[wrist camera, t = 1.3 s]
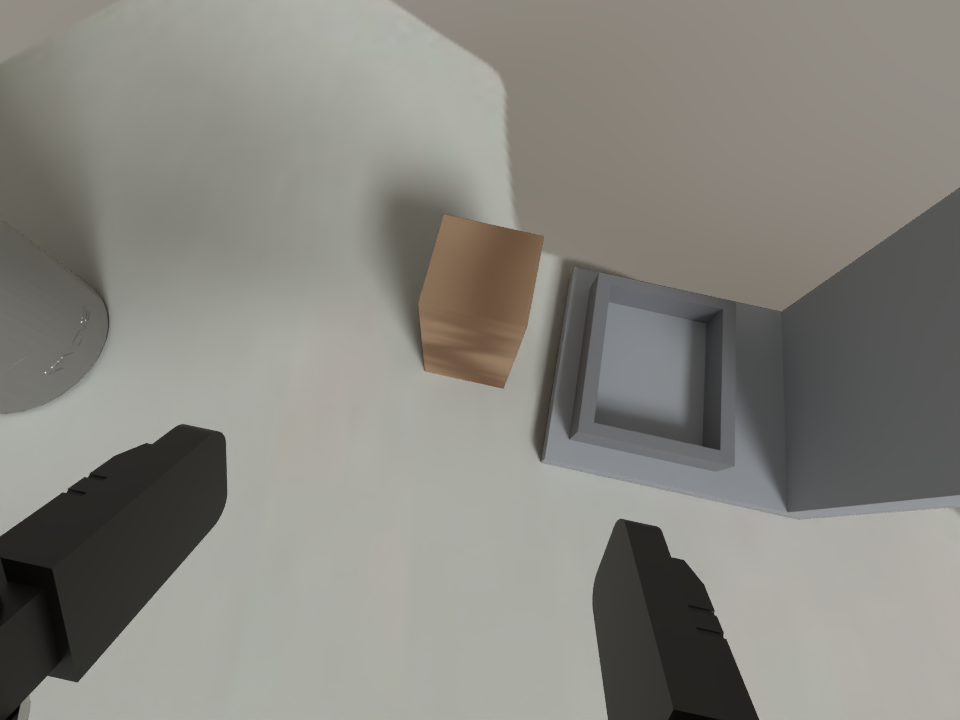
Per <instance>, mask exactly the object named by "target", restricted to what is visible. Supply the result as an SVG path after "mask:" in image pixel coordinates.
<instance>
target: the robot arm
mask: <svg viewBox="0 0 960 720" xmlns="http://www.w3.org/2000/svg"><path fill="white" fill-rule="evenodd" d="M107 330H108V318H107V311H106V308H105V305H104V303H103V300H102V299H101V297H100V296H99V295H98V293H97V292H96V291H95V289H93V288H92V287H91V286H89V285H88V284H87V283H86V282H84V281H83V280H82V279H80V278H79V277H78V276H76V275H75V274H74V273H72V272H71V271H70V270H68V269H67V268H66V267H64V266H63V265H62V264H60V263H59V262H58V261H56V260H55V259H54V258H52V257H51V256H50V255H48V254H47V253H46V252H45V251H43V250H42V249H41V248H40V247H38V246H37V245H36V244H34V243H33V242H32V241H30V240H29V239H28V238H26V237H25V236H24V235H22V234H21V233H19V232H18V231H17V230H15V229H14V228H13V227H11V226H10V225H9V224H7V223H6V222H5V221H3V220H2V219H1V218H0V414H8V413H15V412H21V411H26V410H28V409H31V408H34V407H37V406H40V405H43V404H45V403H47V402H49V401H51V400H53V399H55V398H56V397H58V396H60V395H62V394H63V393H64V392H66V391H67V390H69V389H70V388H71V387H73V386H74V385H75V384H77V383H78V382H79V380H80V379H81V378H82V377H83V376H84V375H85V374H86V373H87V372H88V371H89V370H90V369H91V367H92V366H93V364H94V363H95V361H96V360H97V358H98V357H99V355H100V353H101V350H102V348H103V346H104V343H105V341H106V336H107ZM226 499H227V467H226V440H225V437H224V435H223V434H222V433H221V432H218V431H213V430H209V429H204V428H199V427H195V426H190V425H185V424H182V425H178V426H176V427H175V428H173V429H172V430H171V431H169V432H168V433H167V434H165V435H164V436H163V437H161V438H160V439H159V440H157V441H156V442H155V443H153V444H148V443H145V444H143V445H140V446H138V447H136V448H133V449H131V450H128V451H126V452H123V453H121V454H118V455H116V456H114V457H112V458H111V459H110V460H108V461H107V462H105V463H104V464H103V465H101V466H100V467H98V468H97V469H95V470H94V471H93V472H91V473H90V475H89V477H88V478H86V477H84V478H83V479H81V480H80V481H78V482H77V483H76V484H74V485H73V486H71V487H70V488H68V491H67V493H61V494H60V495H59V496H57V497H56V498H54V499H53V500H51V501H50V502H49V503H47V504H46V505H44V506H43V507H41V508H40V509H39V510H37V511H36V512H34V513H33V514H32V515H30V516H29V517H27V518H26V519H24V520H23V521H22V522H20V523H19V524H17V525H16V526H14V527H13V528H12V529H10V530H9V531H7V532H6V533H5V534H3V535H2V536H0V720H28V718H29V713H30V705H31V701H30V696H29V694H30V693H31V692H32V691H33V690H34V689H35V688H36V687H37V686H38V685H39V684H40V683H41V682H42V681H43V680H44V679H45V678H46V676H51V677H56V678H60V679H65V680H69V681H73V682H78V681H79V680H80V679H81V678H82V677H83V676H84V674H85V673H86V672H87V671H88V670H89V669H90V668H91V666H92V665H93V664H94V663H95V662H96V661H97V660H98V658H99V657H100V656H101V655H102V654H103V653H104V652H105V650H106V649H107V648H108V647H109V646H110V645H111V644H112V642H113V641H114V640H115V639H116V638H117V637H118V635H119V634H120V633H121V632H122V631H123V630H124V629H125V627H126V626H127V625H128V624H129V623H130V622H131V621H132V619H133V618H134V617H135V616H136V615H137V614H138V613H139V611H140V610H141V609H142V608H143V607H144V606H145V605H146V603H147V602H148V601H149V600H150V599H151V598H152V597H153V595H154V594H155V593H156V592H157V591H158V590H159V589H160V587H161V586H162V585H163V584H164V583H165V582H166V580H167V579H168V578H169V577H170V576H171V575H172V574H173V572H174V571H175V570H176V569H177V568H178V567H179V566H180V564H181V563H182V562H183V561H184V560H185V559H186V558H187V556H188V555H189V554H190V553H191V552H192V551H193V550H194V548H195V547H196V546H197V545H198V544H199V543H200V542H201V540H202V539H203V538H204V537H205V536H206V535H207V534H208V532H209V531H210V530H211V529H212V528H213V527H214V525H215V524H216V523H217V521H218V520H219V518H220V516H221V514H222V512H223V509H224V507H225V504H226ZM593 614H594V621H595V628H596V636H597V643H598V650H599V657H600V665H601V672H602V679H603V686H604V694H605V701H606V708H607V715H608V720H759V718H758V716H757V713H756V711H755V708H754V706H753V704H752V701H751V699H750V696H749V694H748V691H747V689H746V686H745V684H744V682H743V679H742V677H741V674H740V672H739V669H738V667H737V664H736V662H735V660H734V657H733V655H732V652H731V650H730V647H729V645H728V642H727V640H726V639H724V638H723V634H724V633H723V630H722V628H721V625H720V623H719V620H718V618H717V616H714V608H713V606H712V603H711V601H710V598H709V596H708V593H707V591H706V589H705V586H704V584H703V583H702V582H701V580H700V579H699V578H698V577H697V576H696V574H695V573H694V572H693V571H692V569H691V568H690V567H689V566H688V564H687V563H686V562H685V561H684V560H681V559H676V558H672V557H671V556H670V553H669V550H668V547H667V544H666V541H665V539H664V536H663V533H662V531H661V529H660V528H659V527H657V526H652V525H647V524H643V523H638V522H633V521H629V520H624V519H619V520H618V521H617V522H616V524H615V526H614V528H613V531H612V534H611V536H610V539H609V542H608V544H607V547H606V550H605V552H604V555H603V558H602V560H601V563H600V566H599V568H598V571H597V574H596V577H595V581H594V587H593Z"/></svg>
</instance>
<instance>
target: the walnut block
mask: <svg viewBox="0 0 960 720" xmlns="http://www.w3.org/2000/svg"><path fill="white" fill-rule="evenodd" d="M543 239H544V236H541V235H536V234H532V233H527V232H523V231H518V230H513V229H509V228H504V227H500V226H495V225H490V224H486V223H481V222H477V221H472V220H467V219H463V218H458V217H454V216H449V215H443V218H442V222H441V225H440V229H439V232H438V236H437V239H436V243H435V246H434V250H433V253H432V257H431V260H430V264H429V267H428V270H427V274H426V277H425V281H424V284H423V288H422V291H421V295H420V298H419V302H418V307H419V317H420V327H421V337H422V347H423V357H424V367H425V371H426V372H430V373H435V374H440V375H444V376H449V377H453V378H458V379H462V380H467V381H471V382H476V383H480V384H485V385H490V386H494V387H499V388H503V389H504V386H505V383H506V381H507V378H508V376H509V373H510V370H511V368H512V365H513V362H514V360H515V357H516V355H517V352H518V349H519V347H520V344H521V341H522V339H523V336H524V334H525V331H526V328H527V325H528V319H529V314H530V309H531V303H532V298H533V293H534V287H535V282H536V277H537V272H538V266H539V261H540V256H541V250H542V245H543Z"/></svg>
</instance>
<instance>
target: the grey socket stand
mask: <svg viewBox="0 0 960 720" xmlns="http://www.w3.org/2000/svg"><path fill="white" fill-rule="evenodd" d="M541 463H546V464H550V465H555V466H560V467H564V468H569V469H573V470H578V471H582V472H587V473H591V474H596V475H600V476H605V477H609V478H614V479H618V480H623V481H627V482H632V483H636V484H641V485H645V486H650V487H655V488H659V489H664V490H668V491H673V492H677V493H682V494H686V495H691V496H695V497H700V498H704V499H709V500H713V501H718V502H722V503H727V504H731V505H736V506H741V507H745V508H750V509H754V510H759V511H763V512H768V513H772V514H777V515H781V516H786V517H790V518H795V519H811V518H824V517H837V516H849V515H862V514H875V513H887V512H900V511H913V510H925V509H938V508H951V507H960V188H958V189H957V190H955V191H954V192H953V193H951V194H950V195H948V196H947V197H945V198H944V199H943V200H941V201H940V202H938V203H937V204H935V205H934V206H932V207H931V208H930V209H928V210H927V211H925V212H924V213H922V214H921V215H920V216H918V217H917V218H915V219H914V220H912V221H911V222H910V223H908V224H907V225H905V226H904V227H902V228H901V229H899V230H898V231H897V232H895V233H894V234H892V235H891V236H889V237H888V238H887V239H885V240H884V241H883V242H881V243H879V244H878V245H876V246H875V247H874V248H872V249H871V250H869V251H868V252H866V253H865V254H864V255H862V256H861V257H859V258H858V259H856V260H855V261H854V262H852V263H851V264H849V265H848V266H846V267H845V268H843V269H842V270H841V271H840V272H838V273H836V274H835V275H834V276H832V277H831V278H829V279H828V280H826V281H825V282H823V283H822V284H821V285H819V286H818V287H816V288H815V289H813V290H812V291H810V292H809V293H808V294H806V295H805V296H803V297H802V298H801V299H799V300H798V301H796V302H795V303H793V304H792V305H790V306H789V307H787V308H786V309H785V310H783V311H782V312H780V311H775V310H771V309H767V308H762V307H757V306H753V305H748V304H744V303H738V302H735V301H730V300H725V299H721V298H716V297H712V296H707V295H702V294H697V293H693V292H688V291H684V290H679V289H675V288H670V287H665V286H661V285H656V284H652V283H647V282H643V281H638V280H633V279H629V278H624V277H620V276H615V275H610V274H606V273H601V272H597V271H592V270H588V269H583V268H578V267H574V269H573V271H572V274H571V276H570V281H569V288H568V294H567V300H566V307H565V313H564V319H563V325H562V332H561V338H560V344H559V351H558V357H557V363H556V370H555V376H554V382H553V389H552V395H551V401H550V408H549V414H548V420H547V427H546V433H545V439H544V446H543V452H542V458H541Z"/></svg>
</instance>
